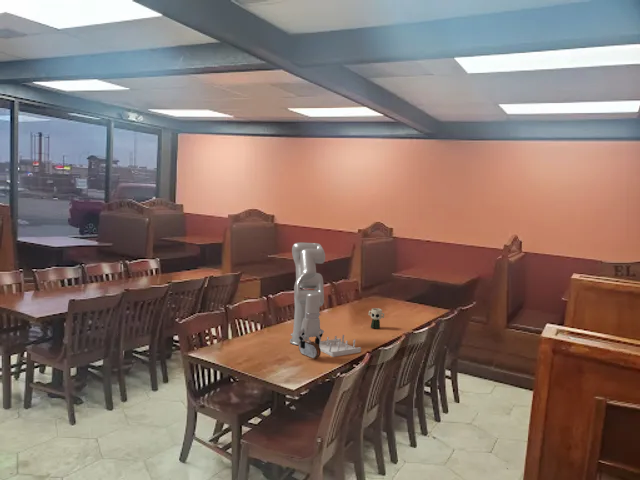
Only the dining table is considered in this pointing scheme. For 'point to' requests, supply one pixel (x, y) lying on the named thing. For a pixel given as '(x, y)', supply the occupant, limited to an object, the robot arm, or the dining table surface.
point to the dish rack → (337, 347)
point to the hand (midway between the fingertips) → (309, 347)
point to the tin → (310, 349)
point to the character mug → (376, 317)
